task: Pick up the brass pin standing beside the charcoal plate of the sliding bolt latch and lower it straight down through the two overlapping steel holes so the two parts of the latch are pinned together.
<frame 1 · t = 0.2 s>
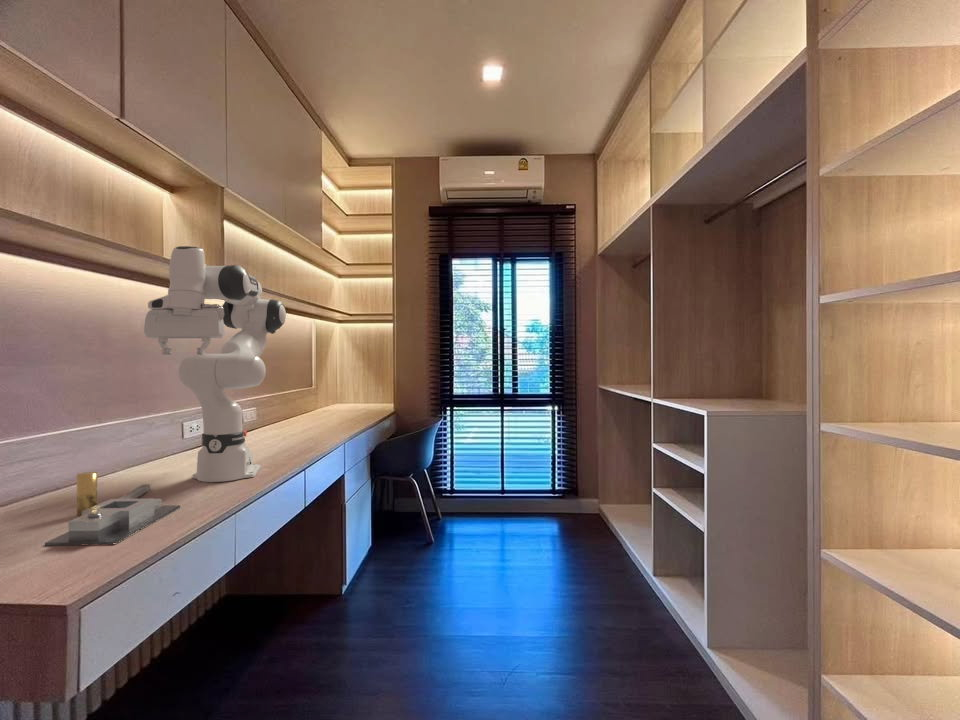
hand: (183, 354, 144), 39 cm above the table, tool pointing down, fingers open, 8 cm apart
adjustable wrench: (133, 500, 142), on the table, touching sliding bolt latch
brass pin: (87, 514, 130), on the table
sliding bolt latch: (119, 524, 123), on the table
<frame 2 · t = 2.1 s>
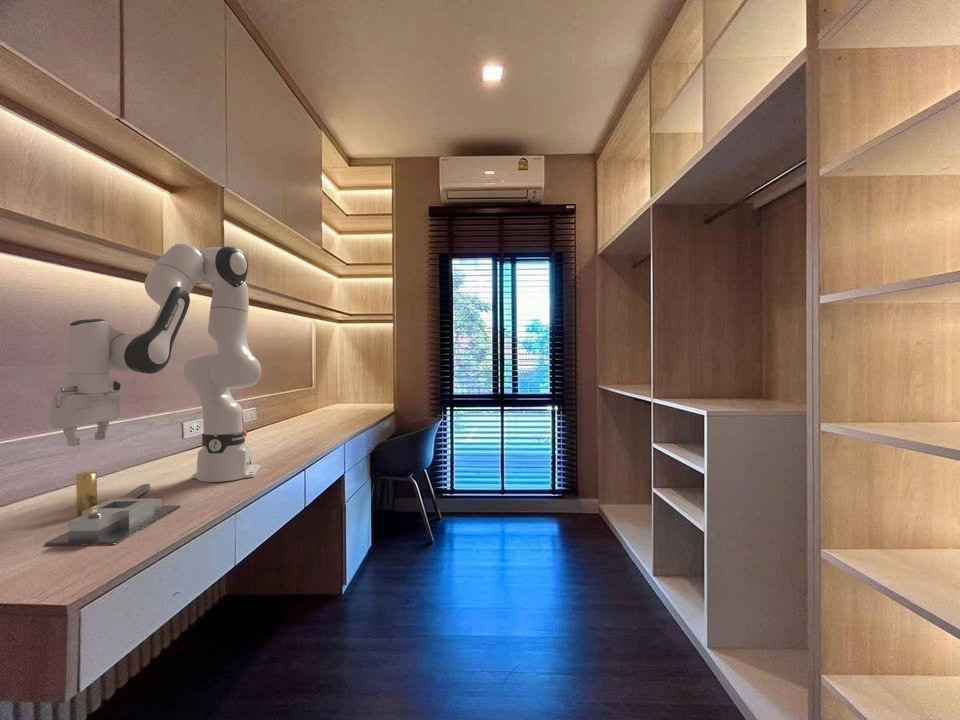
hand: (87, 442, 129), 18 cm above the table, tool pointing down, fingers open, 8 cm apart
nothing on the table moved.
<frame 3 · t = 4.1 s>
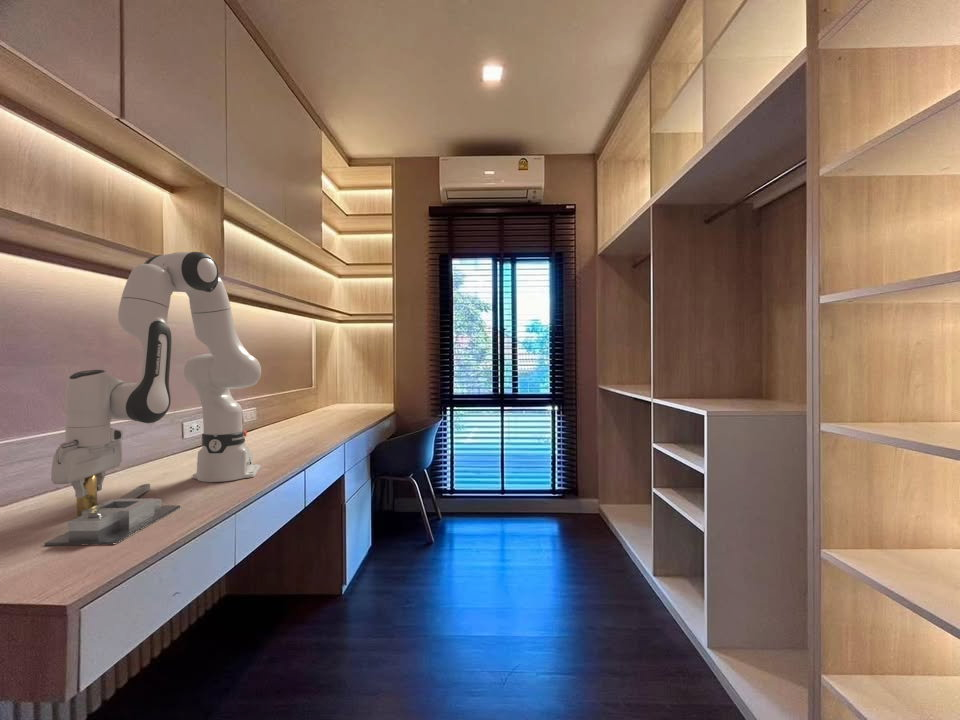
hand: (89, 493, 130), 5 cm above the table, tool pointing down, fingers closed on brass pin, 4 cm apart
brass pin: (87, 514, 130), on the table, touching gripper
everything else where it was.
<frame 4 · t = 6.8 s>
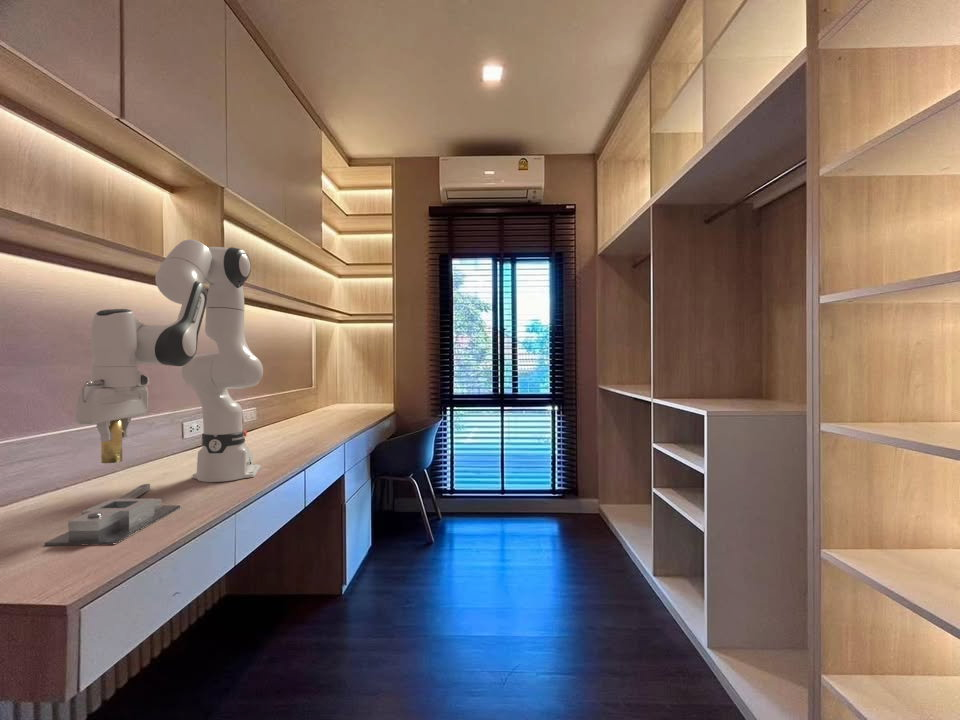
hand: (114, 439, 123), 20 cm above the table, tool pointing down, fingers closed on brass pin, 4 cm apart
brass pin: (111, 461, 123), point 14 cm above the table, touching gripper
everything else where it was.
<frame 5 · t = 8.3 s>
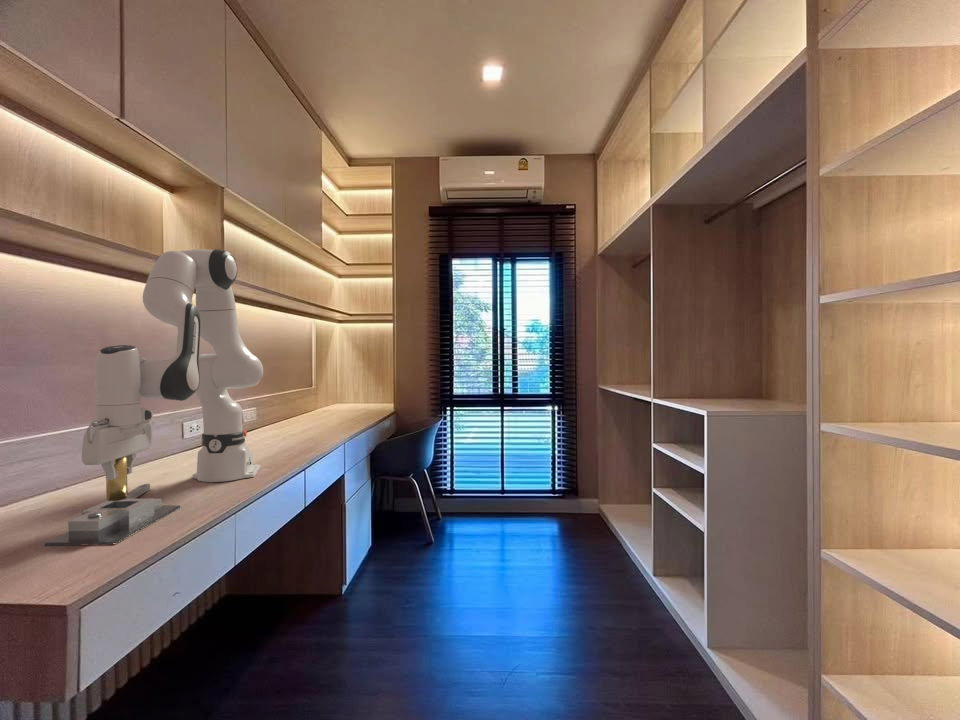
hand: (119, 476, 122), 11 cm above the table, tool pointing down, fingers closed on brass pin, 4 cm apart
brass pin: (117, 498, 123), point 6 cm above the table, touching gripper
everything else where it was.
when the fingers open (7 cm above the table, at t = 9.5 s): brass pin drops 1 cm, resting on sliding bolt latch.
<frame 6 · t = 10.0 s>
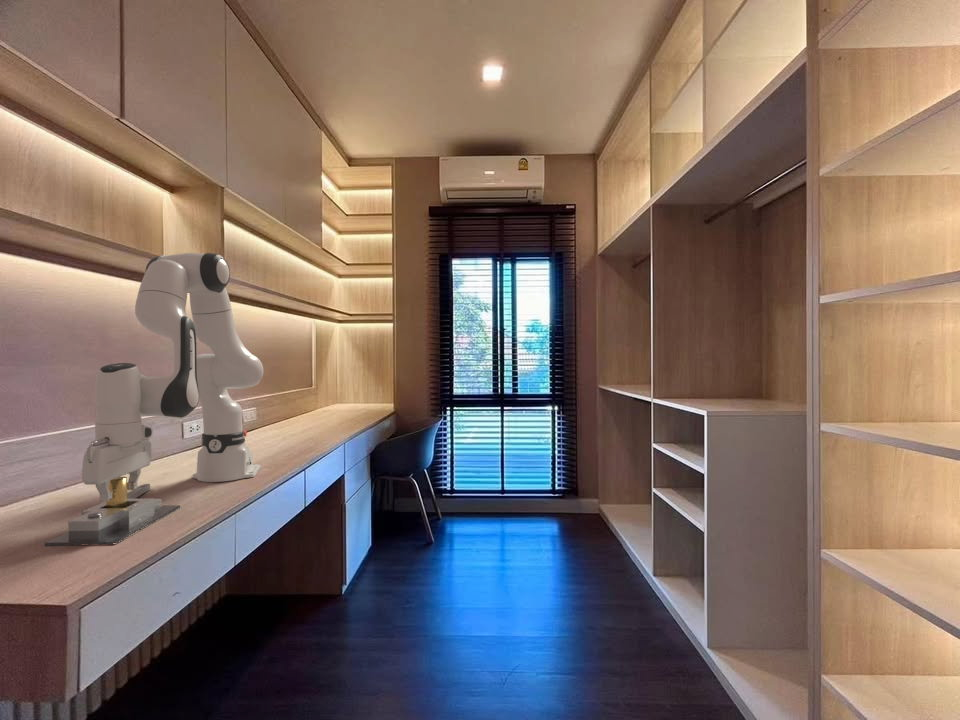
hand: (119, 494, 122), 7 cm above the table, tool pointing down, fingers open, 8 cm apart
brass pin: (116, 522, 122), point 1 cm above the table, touching sliding bolt latch
everything else where it was.
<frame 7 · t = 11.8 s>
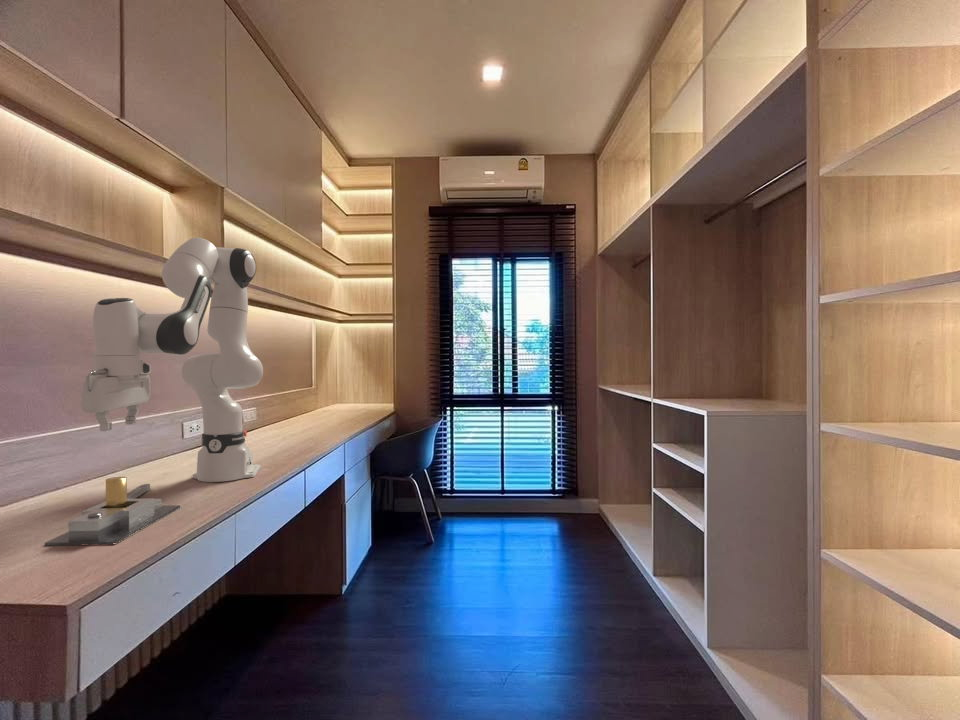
hand: (118, 427, 124), 22 cm above the table, tool pointing down, fingers open, 8 cm apart
nothing on the table moved.
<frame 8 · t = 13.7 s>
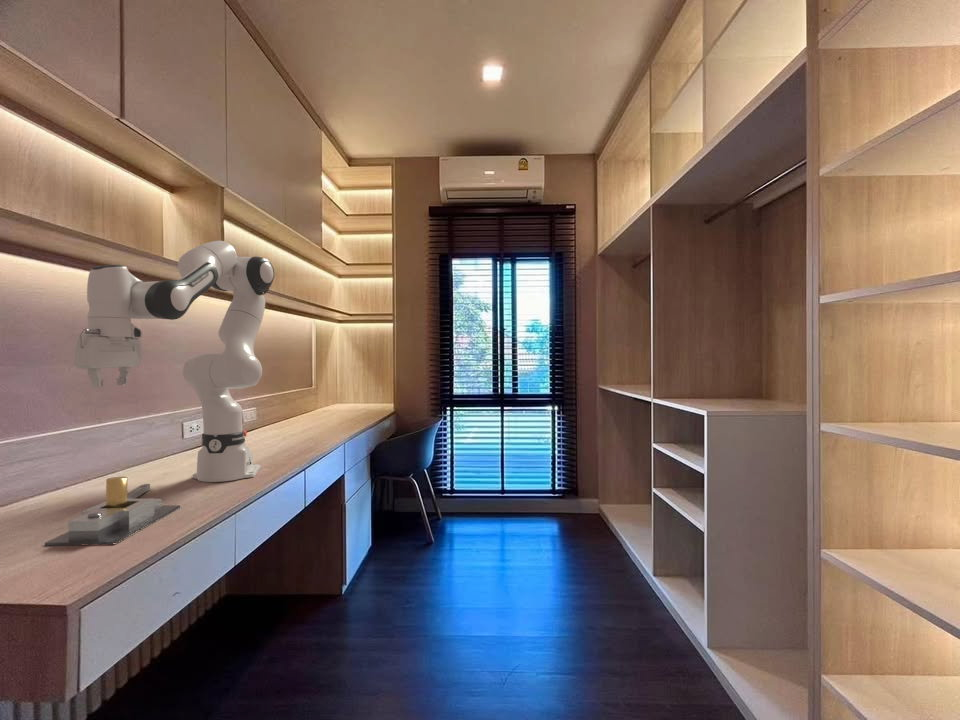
hand: (110, 386, 132), 31 cm above the table, tool pointing down, fingers open, 8 cm apart
nothing on the table moved.
at the end: brass pin 0.6 cm off-centre on the sliding bolt latch, point 0.6 cm above the sliding bolt latch's base; brass pin tilted 1°; the gripper is holding nothing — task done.
